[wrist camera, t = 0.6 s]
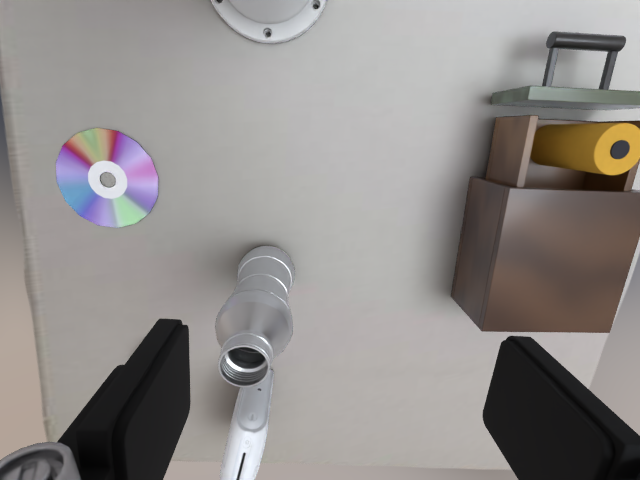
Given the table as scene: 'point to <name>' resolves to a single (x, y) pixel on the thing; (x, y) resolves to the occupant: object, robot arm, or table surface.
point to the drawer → (557, 121)
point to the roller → (588, 147)
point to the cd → (120, 160)
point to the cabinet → (544, 257)
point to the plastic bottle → (256, 317)
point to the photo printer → (248, 432)
